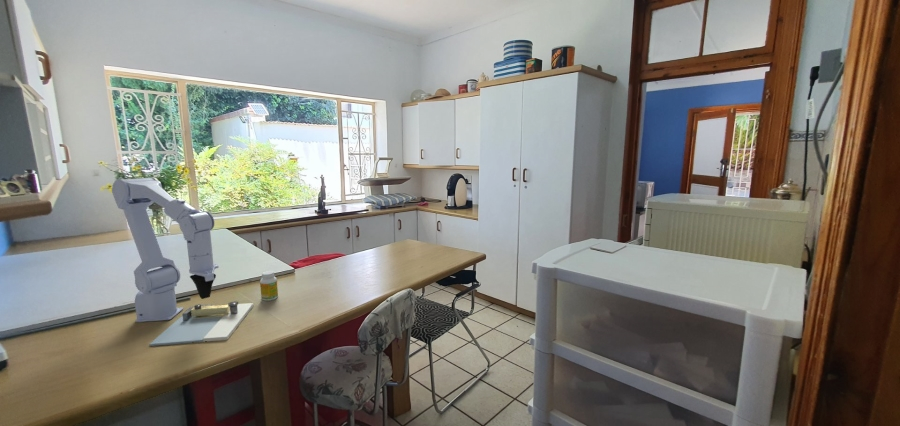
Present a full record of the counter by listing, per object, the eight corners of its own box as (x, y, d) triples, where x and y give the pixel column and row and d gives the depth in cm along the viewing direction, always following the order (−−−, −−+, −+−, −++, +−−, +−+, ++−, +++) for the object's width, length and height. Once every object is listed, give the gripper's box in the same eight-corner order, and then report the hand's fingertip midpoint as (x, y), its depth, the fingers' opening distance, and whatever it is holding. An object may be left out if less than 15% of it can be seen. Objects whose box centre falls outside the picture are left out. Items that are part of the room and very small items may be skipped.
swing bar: (230, 310, 111) (229, 302, 111) (227, 313, 109) (226, 305, 109) (195, 313, 109) (194, 304, 109) (191, 316, 107) (190, 307, 107)
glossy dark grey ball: (227, 318, 109) (226, 305, 109) (231, 314, 112) (230, 301, 111) (237, 317, 110) (236, 304, 109) (240, 313, 113) (239, 301, 112)
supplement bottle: (271, 301, 122) (269, 275, 120) (257, 300, 123) (255, 274, 121) (281, 295, 127) (279, 270, 125) (268, 294, 128) (266, 269, 126)
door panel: (149, 346, 93) (149, 342, 93) (191, 309, 114) (190, 306, 114) (227, 339, 97) (227, 336, 97) (253, 305, 118) (253, 303, 118)
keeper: (183, 321, 106) (182, 313, 105) (192, 312, 111) (191, 305, 111) (204, 319, 107) (203, 312, 107) (213, 311, 113) (212, 304, 112)
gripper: (224, 256, 98) (228, 300, 101) (209, 246, 108) (213, 287, 110) (194, 261, 93) (200, 308, 96) (181, 250, 102) (186, 293, 105)
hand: (205, 297), depth 103 cm, fingers closed
